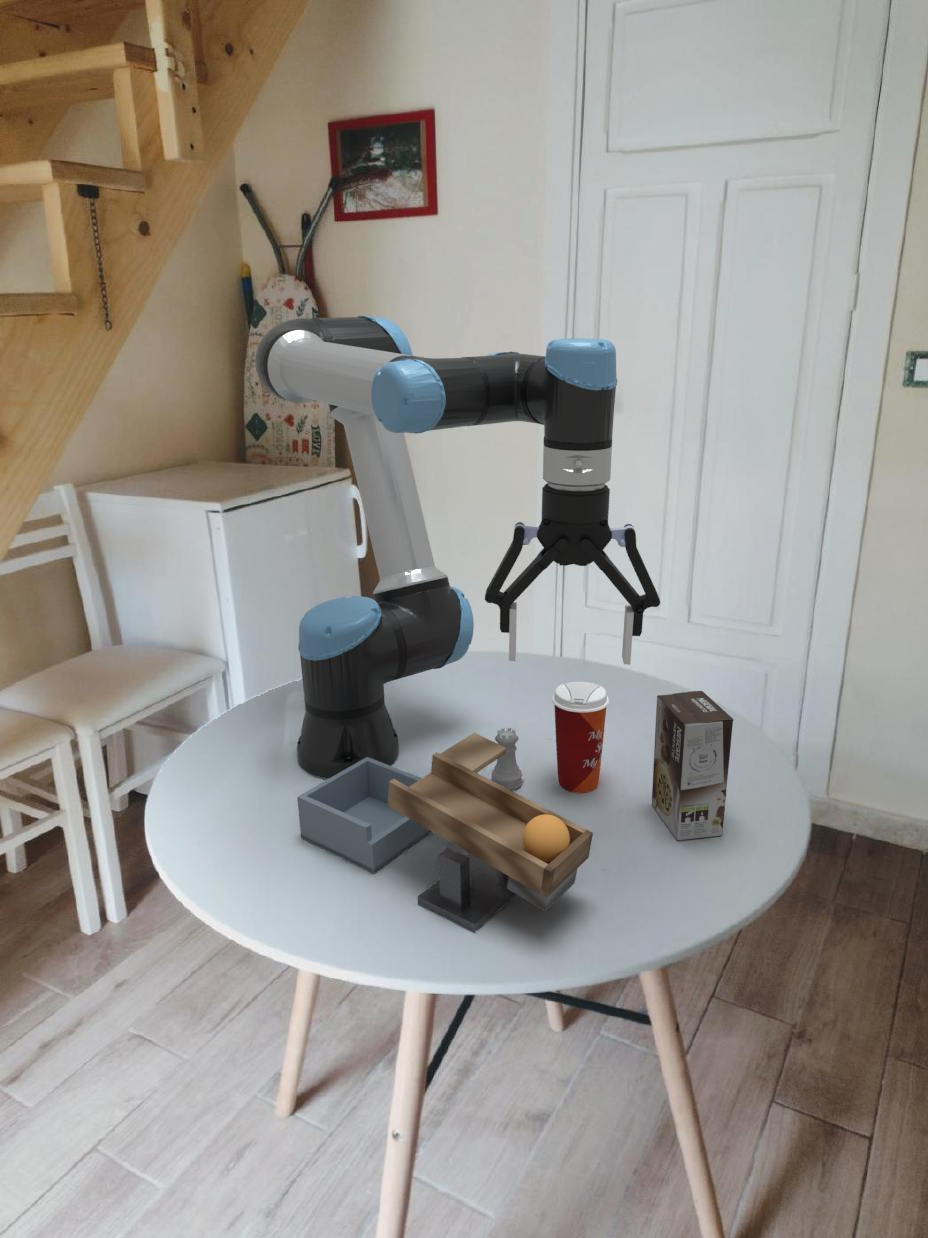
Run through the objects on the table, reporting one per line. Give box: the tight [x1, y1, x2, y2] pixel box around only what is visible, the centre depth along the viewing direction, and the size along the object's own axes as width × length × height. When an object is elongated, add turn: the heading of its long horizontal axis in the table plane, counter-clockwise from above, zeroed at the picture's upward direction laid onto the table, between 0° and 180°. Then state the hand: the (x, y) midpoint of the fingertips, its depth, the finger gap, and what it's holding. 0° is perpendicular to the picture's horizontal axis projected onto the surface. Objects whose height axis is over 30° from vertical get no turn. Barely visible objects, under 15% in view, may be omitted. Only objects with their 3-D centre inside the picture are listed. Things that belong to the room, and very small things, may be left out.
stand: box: [417, 847, 518, 933], centre depth 100 cm, size 8×15×7 cm, turn 142°
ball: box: [523, 814, 570, 863], centre depth 93 cm, size 5×5×5 cm
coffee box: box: [651, 690, 735, 841], centre depth 110 cm, size 9×6×16 cm
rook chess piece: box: [490, 727, 524, 791], centre depth 121 cm, size 4×4×8 cm
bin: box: [296, 757, 433, 874], centre depth 110 cm, size 13×13×6 cm
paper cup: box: [551, 681, 610, 794], centre depth 120 cm, size 8×8×14 cm
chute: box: [388, 732, 594, 912], centre depth 101 cm, size 22×16×6 cm
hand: (568, 658), depth 105 cm, fingers open, 13 cm apart
